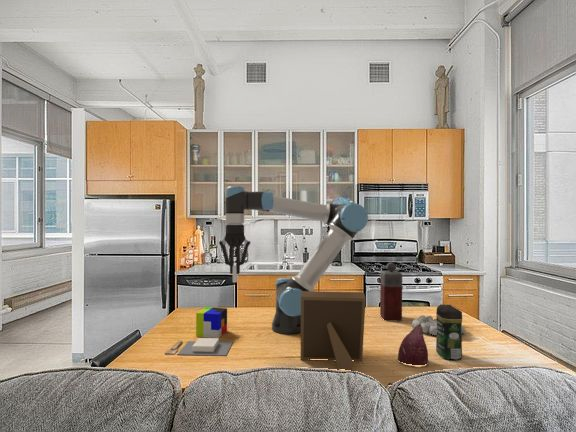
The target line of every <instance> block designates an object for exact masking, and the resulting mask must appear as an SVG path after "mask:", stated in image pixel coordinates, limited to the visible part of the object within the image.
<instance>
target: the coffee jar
mask: <svg viewBox="0 0 576 432" xmlns="http://www.w3.org/2000/svg"><path fill="white" fill-rule="evenodd" d="M436 318H437V336H435V337H436V339H435V340H436V343H435V345H436V346H435V352H436V353H437V355H438V356H440V357H441V356H442V357H444V358H449V359H459V360H461V359H462V358H463V344H462V340H463V338H462V337H463V336H462V335H463V334H462V332H461V327H462V326H463V311H462V310H460V309H458V308H457V307H455V306H453V305H452V304H439V305H438V306H437V307H436ZM442 357H441V358H442ZM444 358H443V359H444ZM460 358H461V359H460ZM449 359H448V360H449Z"/></svg>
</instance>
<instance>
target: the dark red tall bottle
mask: <svg viewBox="0 0 576 432" xmlns="http://www.w3.org/2000/svg"><path fill="white" fill-rule="evenodd" d="M386 269H387V270H381V271H380V299H379V301H380V306H379V307H380V309H379V311H380V312H379V316H380V315H381V316H380V318H381V317H382V318H383V319H384V320H402V321H403V274H402V273H401V272H400V271H398V270H396V269H397V264H395V263H394V262H388V263H386ZM382 318H381V319H382ZM383 319H382V320H383Z"/></svg>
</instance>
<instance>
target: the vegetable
mask: <svg viewBox="0 0 576 432" xmlns="http://www.w3.org/2000/svg"><path fill="white" fill-rule="evenodd" d="M427 346H428V345H427V344H426V341H425V337H424V332H423V330H422V326H421V324H419V325H417V326H416V327H415V328H412V330H410V332H408V334H406V335H405V336H404V338H403V340H402V341H401V343H400V345H399V349H398V354H397V361H398V360H399V361H400V362H403V363H406V364H412V365H425V364H427V363H428V364H429V351H428V347H427Z"/></svg>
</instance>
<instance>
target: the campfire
mask: <svg viewBox="0 0 576 432" xmlns="http://www.w3.org/2000/svg"><path fill="white" fill-rule="evenodd" d="M419 324H421V326H422V330H423V334H428V333H429V335H431V334H432V335H431V336H433V335H434V336H435V335H437V317H436V318H433V316H432V315H428V316H425V315H424V314H423V315H420V316H419V317H418V318H415V319H413V320H412V322H411V328H412V329H414V328H415V327H416V326H417V325H419ZM461 332H462V333H465V334H466V333H467V330H466V329H465V327H464V326H463V325H462V327H461Z"/></svg>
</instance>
